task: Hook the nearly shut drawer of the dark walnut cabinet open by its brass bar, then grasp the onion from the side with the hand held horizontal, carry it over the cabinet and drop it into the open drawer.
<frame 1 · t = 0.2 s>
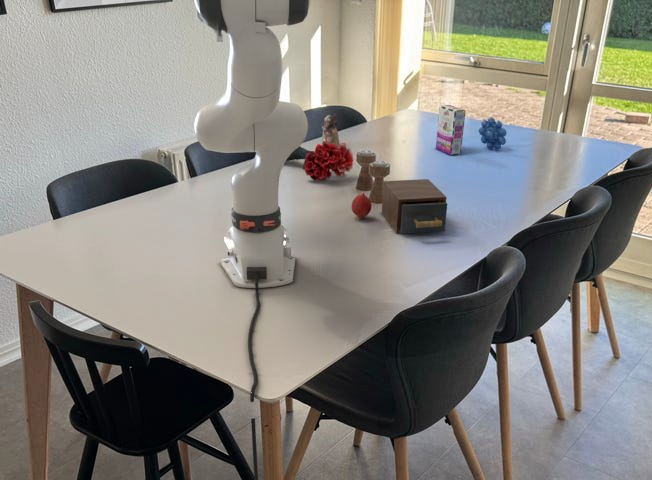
hand: (238, 41, 179), 48 cm above the table, tool pointing down, fingers open, 8 cm apart
figurine: (329, 147, 275), on the table
onion: (361, 219, 206), on the table
cabinet: (411, 221, 204), on the table
candy bar box: (448, 152, 271), on the table
drawer: (418, 212, 197), point 5 cm above the table, slide at 1.5 cm
grapes: (489, 150, 274), on the table
carnation: (308, 173, 245), on the table
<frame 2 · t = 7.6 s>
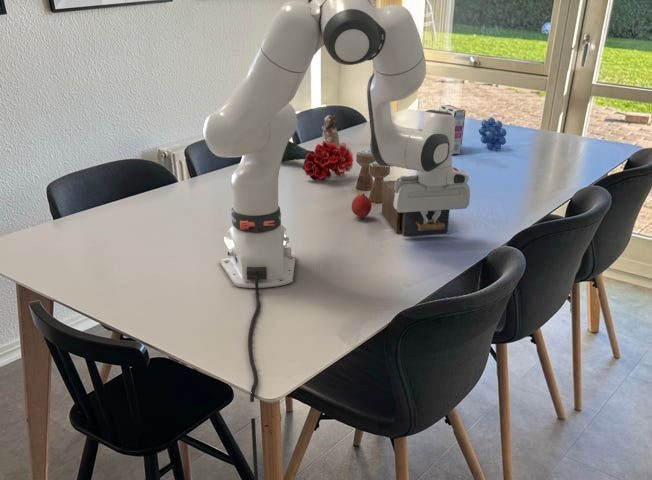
hand: (429, 225, 189), 5 cm above the table, tool pointing down, fingers closed
drawer: (420, 214, 195), point 5 cm above the table, slide at 3.7 cm, touching gripper
everything else where it was.
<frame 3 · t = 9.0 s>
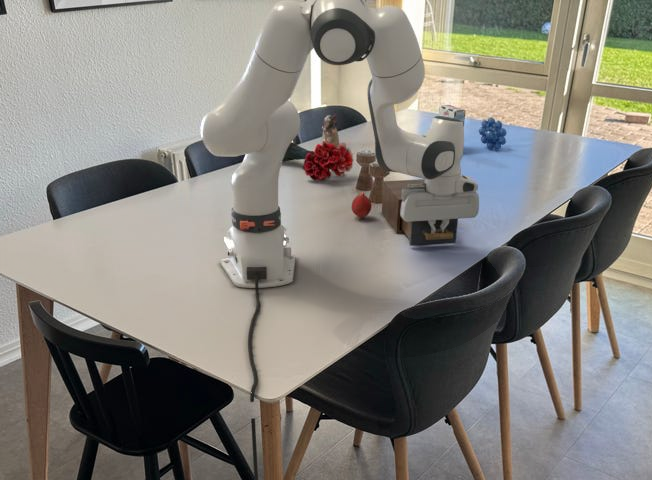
hand: (437, 234, 183), 5 cm above the table, tool pointing down, fingers closed, pressing on drawer
drawer: (428, 223, 190), point 5 cm above the table, slide at 10.4 cm, touching gripper
everything else where it was.
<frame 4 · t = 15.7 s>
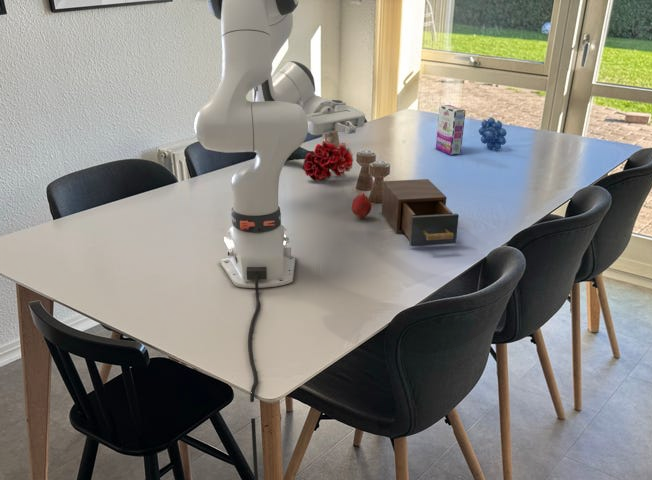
hand: (352, 130, 198), 24 cm above the table, tool horizontal, fingers closed
drawer: (428, 223, 189), point 5 cm above the table, slide at 10.6 cm
everything else where it was.
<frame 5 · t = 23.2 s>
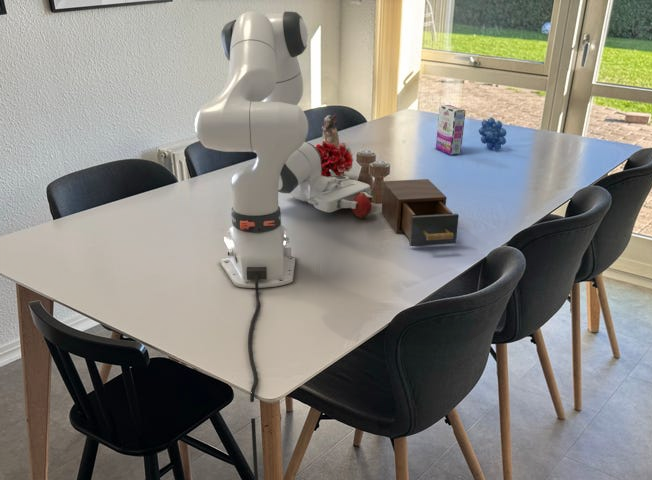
hand: (364, 202, 203), 5 cm above the table, tool horizontal, fingers closed on onion, 5 cm apart
onion: (361, 219, 206), on the table, touching gripper
everything else where it was.
when the fingers open (15 cm above the table, at t = 31.5 s): onion drops 8 cm, resting on drawer.
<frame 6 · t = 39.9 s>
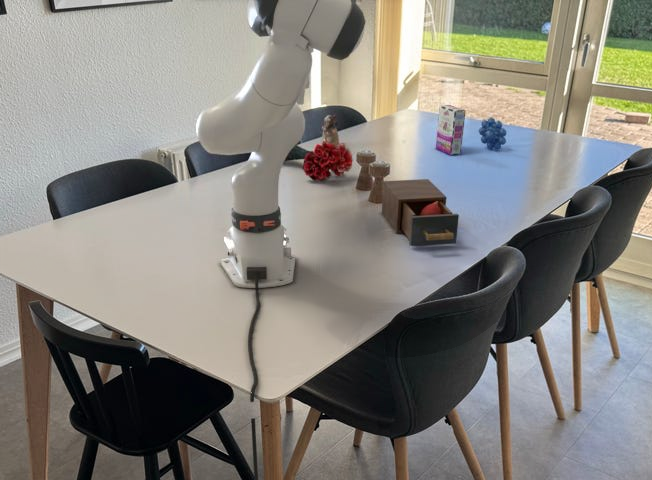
hand: (297, 100, 188), 33 cm above the table, tool pointing down, fingers open, 8 cm apart
onion: (426, 229, 192), point 3 cm above the table, touching drawer
drawer: (428, 223, 189), point 5 cm above the table, slide at 10.7 cm, touching onion
everything else where it was.
at the end: drawer slide at 10.7 cm; onion inside the target area in the drawer (2.0 cm from its centre), point 2.7 cm above the cabinet's base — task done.
